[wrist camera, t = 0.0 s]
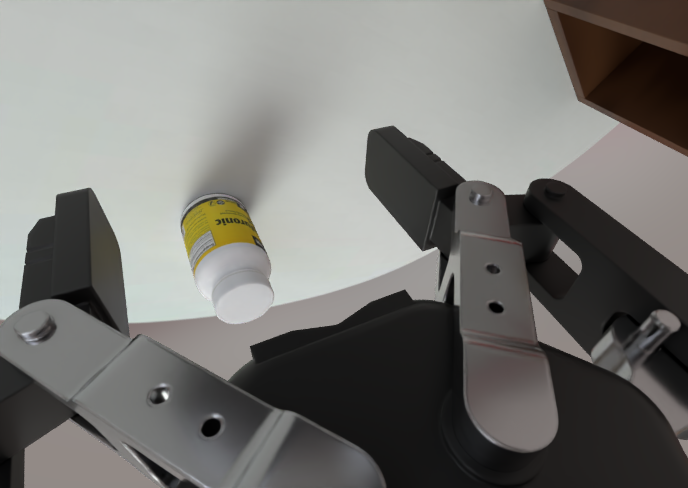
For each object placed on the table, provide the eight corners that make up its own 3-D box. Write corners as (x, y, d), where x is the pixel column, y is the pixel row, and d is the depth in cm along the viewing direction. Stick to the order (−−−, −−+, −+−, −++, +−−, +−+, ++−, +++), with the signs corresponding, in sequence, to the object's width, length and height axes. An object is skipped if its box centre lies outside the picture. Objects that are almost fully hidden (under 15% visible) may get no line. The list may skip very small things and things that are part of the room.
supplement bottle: (259, 208, 35) (299, 289, 28) (219, 251, 36) (250, 338, 30) (206, 179, 31) (240, 265, 24) (164, 228, 32) (186, 323, 26)
